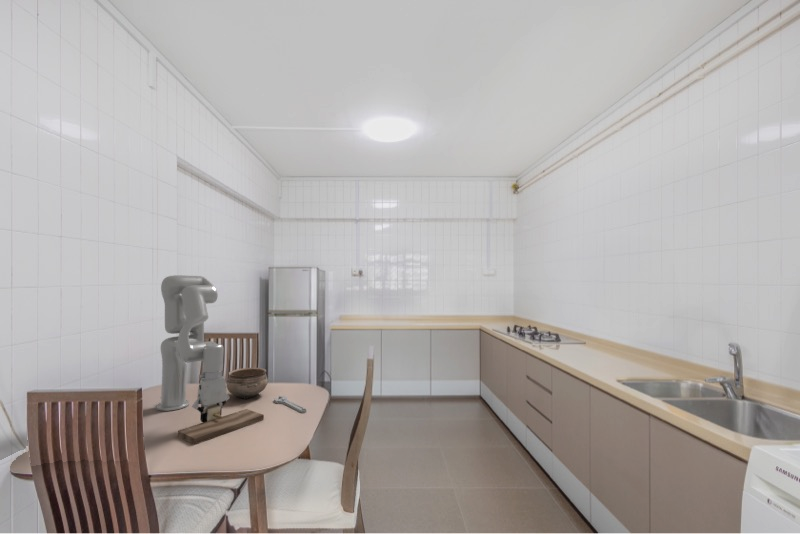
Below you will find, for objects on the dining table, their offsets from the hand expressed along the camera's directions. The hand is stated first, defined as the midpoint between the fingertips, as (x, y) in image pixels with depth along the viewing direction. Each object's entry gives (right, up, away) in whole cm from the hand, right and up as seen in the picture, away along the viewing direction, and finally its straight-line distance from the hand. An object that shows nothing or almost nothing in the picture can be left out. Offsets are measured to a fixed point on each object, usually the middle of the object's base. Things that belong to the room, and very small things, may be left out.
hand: (211, 419), depth 146 cm
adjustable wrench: (+25, -3, +20) cm, 33 cm away
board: (+7, -1, -5) cm, 9 cm away
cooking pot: (+1, -3, +33) cm, 33 cm away
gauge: (+2, -1, -1) cm, 2 cm away
